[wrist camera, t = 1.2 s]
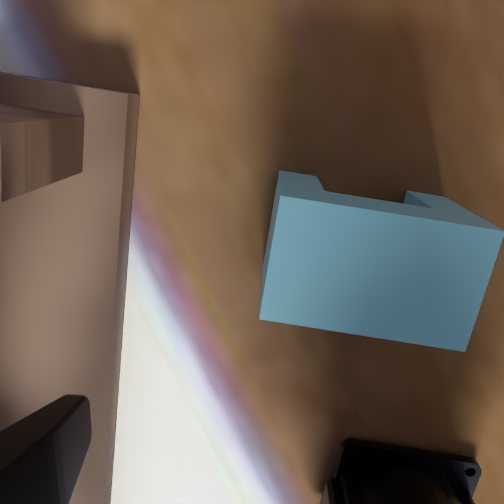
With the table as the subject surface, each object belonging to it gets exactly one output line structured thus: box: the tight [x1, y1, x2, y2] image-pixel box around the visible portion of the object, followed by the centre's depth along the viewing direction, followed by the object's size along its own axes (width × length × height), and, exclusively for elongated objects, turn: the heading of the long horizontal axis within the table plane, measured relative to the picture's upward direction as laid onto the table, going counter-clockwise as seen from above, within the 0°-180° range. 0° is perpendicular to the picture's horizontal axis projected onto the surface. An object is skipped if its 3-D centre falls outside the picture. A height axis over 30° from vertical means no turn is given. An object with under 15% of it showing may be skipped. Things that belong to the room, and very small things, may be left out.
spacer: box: [259, 170, 504, 352], centre depth 17 cm, size 7×4×5 cm, turn 82°
